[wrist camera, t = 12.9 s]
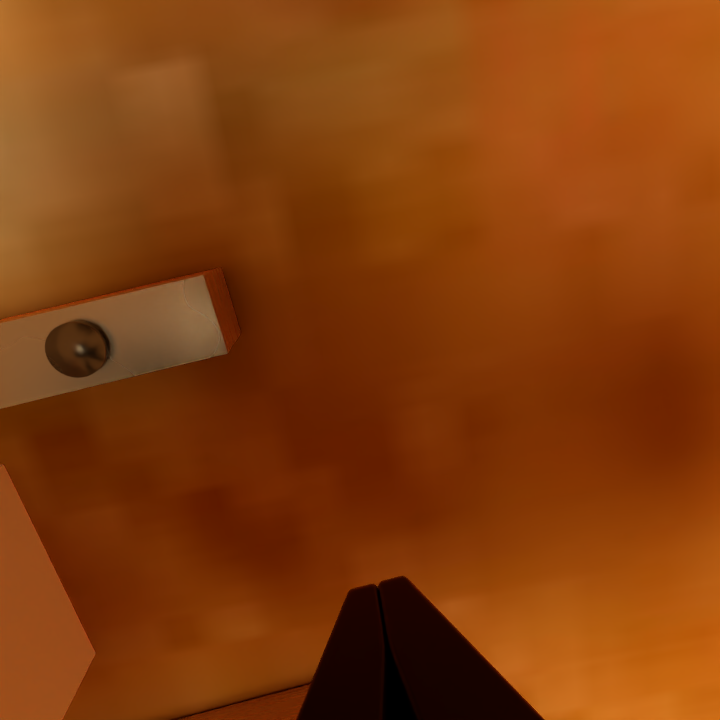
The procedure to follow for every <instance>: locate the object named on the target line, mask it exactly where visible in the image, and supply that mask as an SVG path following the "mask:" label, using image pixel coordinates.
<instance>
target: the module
mask: <svg viewBox="0 0 720 720" xmlns="http://www.w3.org/2000/svg"><path fill="white" fill-rule="evenodd" d="M95 654H96V653H95V651H94V649H93V647H92V645H91V642H90V640H89V638H88V636H87V634H86V632H85V630H84V628H83V626H82V624H81V622H80V620H79V618H78V616H77V614H76V612H75V610H74V608H73V606H72V603H71V601H70V599H69V597H68V595H67V593H66V591H65V589H64V587H63V585H62V583H61V581H60V579H59V577H58V575H57V573H56V571H55V569H54V566H53V564H52V562H51V560H50V558H49V556H48V554H47V552H46V550H45V548H44V546H43V544H42V542H41V540H40V538H39V536H38V534H37V532H36V530H35V527H34V525H33V523H32V521H31V519H30V517H29V515H28V513H27V511H26V509H25V507H24V505H23V503H22V501H21V499H20V497H19V495H18V493H17V490H16V488H15V486H14V484H13V482H12V480H11V478H10V476H9V474H8V472H7V470H6V468H5V466H4V464H2V465H0V720H63V718H64V716H65V714H66V712H67V710H68V708H69V706H70V704H71V702H72V700H73V698H74V696H75V694H76V692H77V690H78V688H79V686H80V684H81V682H82V680H83V678H84V676H85V674H86V672H87V670H88V668H89V666H90V664H91V662H92V660H93V658H94V656H95Z"/></svg>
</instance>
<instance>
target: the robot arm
mask: <svg viewBox="0 0 720 720" xmlns="http://www.w3.org/2000/svg"><path fill="white" fill-rule="evenodd" d="M296 720H544V719H543V718H542V717H541V716H540V715H539V714H538V712H537V711H536V710H535V709H534V708H533V707H532V706H531V705H530V704H529V703H528V702H527V701H526V700H525V699H524V698H523V697H522V696H521V695H520V694H519V693H518V692H517V691H516V690H515V689H514V688H513V687H512V686H511V685H510V684H509V683H508V681H507V680H506V679H505V678H504V677H503V676H502V675H501V674H500V673H499V672H498V671H497V670H496V669H495V668H494V667H493V666H492V665H491V664H490V663H489V662H488V661H487V660H486V659H485V658H484V657H483V656H482V655H481V654H480V653H479V652H478V651H477V649H476V648H475V647H474V646H473V645H472V644H471V643H470V642H469V641H468V640H467V639H466V638H465V637H464V636H463V635H462V634H461V633H460V632H459V631H458V630H457V629H456V628H455V627H454V626H453V625H452V624H451V623H450V622H449V621H448V620H447V619H446V617H445V616H444V615H443V614H442V613H441V612H440V611H439V610H438V609H437V608H436V607H435V606H434V605H433V604H432V603H431V602H430V601H429V600H428V599H427V598H426V597H425V596H424V595H423V594H422V593H421V592H420V591H419V590H418V589H417V588H416V586H415V585H414V584H413V583H412V582H411V581H410V580H409V579H408V578H406V577H405V576H399V577H395V578H391V579H388V580H384V581H381V582H380V583H379V585H378V587H377V586H376V585H375V584H369V585H365V586H361V587H357V588H354V589H351V590H350V591H349V592H348V594H347V596H346V598H345V601H344V603H343V606H342V608H341V611H340V613H339V616H338V618H337V620H336V623H335V625H334V628H333V630H332V633H331V635H330V638H329V640H328V642H327V645H326V647H325V650H324V652H323V655H322V657H321V660H320V662H319V664H318V667H317V669H316V672H315V674H314V677H313V679H312V682H311V684H310V686H309V689H308V691H307V694H306V696H305V699H304V701H303V703H302V706H301V708H300V711H299V713H298V716H297V718H296Z"/></svg>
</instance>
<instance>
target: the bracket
mask: <svg viewBox="0 0 720 720" xmlns="http://www.w3.org/2000/svg"><path fill="white" fill-rule="evenodd" d="M240 334H241V331H240V328H239V324H238V321H237V318H236V314H235V311H234V308H233V304H232V301H231V298H230V294H229V291H228V288H227V284H226V281H225V278H224V274H223V271H222V268H221V267H219V268H215V269H211V270H207V271H202V272H198V273H194V274H190V275H186V276H181V277H177V278H173V279H169V280H164V281H160V282H156V283H152V284H148V285H143V286H139V287H135V288H131V289H127V290H122V291H118V292H114V293H110V294H105V295H101V296H97V297H93V298H89V299H84V300H80V301H76V302H72V303H68V304H63V305H59V306H55V307H51V308H46V309H42V310H38V311H34V312H30V313H25V314H21V315H17V316H13V317H8V318H4V319H0V409H2V408H6V407H10V406H14V405H18V404H22V403H26V402H30V401H35V400H39V399H43V398H47V397H51V396H55V395H59V394H63V393H67V392H72V391H76V390H80V389H84V388H88V387H92V386H96V385H100V384H104V383H109V382H113V381H117V380H121V379H125V378H129V377H133V376H137V375H142V374H146V373H150V372H154V371H158V370H162V369H166V368H170V367H174V366H179V365H183V364H187V363H191V362H195V361H199V360H203V359H207V358H211V357H216V356H220V355H224V354H228V352H229V351H230V349H231V348H232V346H233V345H234V343H235V342H236V340H237V339H238V337H239V336H240ZM309 686H310V684H309V685H305V686H301V687H298V688H294V689H290V690H286V691H283V692H279V693H275V694H271V695H268V696H264V697H260V698H256V699H253V700H249V701H245V702H241V703H238V704H234V705H230V706H226V707H223V708H219V709H215V710H211V711H208V712H204V713H200V714H196V715H193V716H189V717H185V718H181V719H178V720H296V718H297V716H298V713H299V711H300V708H301V706H302V703H303V701H304V699H305V696H306V694H307V691H308V689H309Z"/></svg>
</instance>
